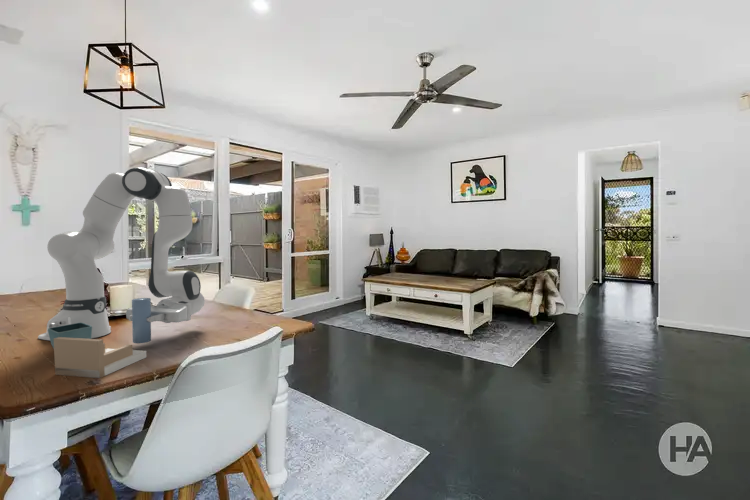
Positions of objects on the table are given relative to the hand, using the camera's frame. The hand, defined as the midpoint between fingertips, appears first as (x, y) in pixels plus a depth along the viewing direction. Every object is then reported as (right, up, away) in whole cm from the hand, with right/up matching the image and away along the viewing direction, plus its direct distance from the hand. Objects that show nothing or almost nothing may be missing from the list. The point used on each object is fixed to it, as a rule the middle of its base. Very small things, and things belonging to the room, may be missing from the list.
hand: (139, 319), depth 119 cm
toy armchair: (-2, -11, -13) cm, 17 cm away
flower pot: (-19, -11, -5) cm, 22 cm away
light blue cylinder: (0, -7, +1) cm, 8 cm away
